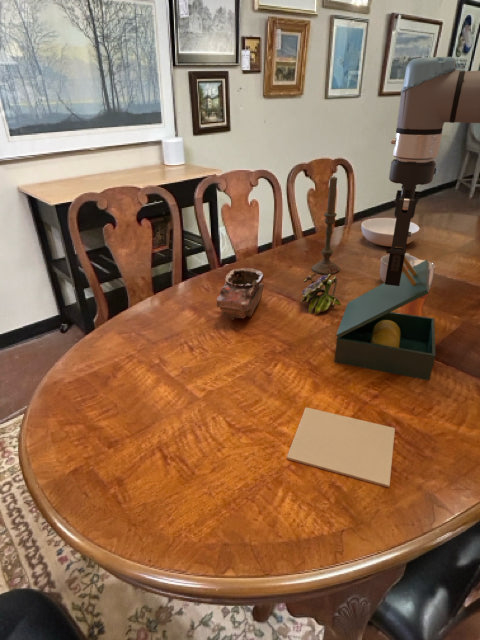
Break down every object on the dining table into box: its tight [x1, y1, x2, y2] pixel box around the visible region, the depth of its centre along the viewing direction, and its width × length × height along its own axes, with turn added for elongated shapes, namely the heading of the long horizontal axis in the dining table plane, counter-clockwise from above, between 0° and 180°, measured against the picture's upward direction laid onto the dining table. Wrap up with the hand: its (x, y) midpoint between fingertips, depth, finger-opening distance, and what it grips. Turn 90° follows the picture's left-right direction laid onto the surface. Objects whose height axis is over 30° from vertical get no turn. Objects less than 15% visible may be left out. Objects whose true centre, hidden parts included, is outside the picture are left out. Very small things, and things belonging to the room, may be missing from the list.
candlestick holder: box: [311, 175, 341, 276], centre depth 131 cm, size 9×9×30 cm
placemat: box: [286, 406, 396, 488], centre depth 71 cm, size 16×13×1 cm
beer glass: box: [397, 259, 436, 317], centre depth 105 cm, size 7×7×15 cm
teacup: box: [379, 252, 420, 283], centre depth 127 cm, size 14×11×8 cm
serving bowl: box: [361, 217, 420, 248], centre depth 159 cm, size 21×21×7 cm
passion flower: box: [300, 272, 342, 315], centre depth 113 cm, size 11×11×12 cm
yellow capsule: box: [370, 320, 401, 348], centre depth 93 cm, size 12×6×6 cm, turn 159°
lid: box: [336, 247, 430, 338], centre depth 88 cm, size 20×16×8 cm
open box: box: [334, 311, 436, 381], centre depth 93 cm, size 19×16×7 cm
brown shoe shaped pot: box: [216, 267, 265, 320], centre depth 111 cm, size 13×20×10 cm, turn 158°
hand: (393, 275), depth 86 cm, fingers open, 9 cm apart
